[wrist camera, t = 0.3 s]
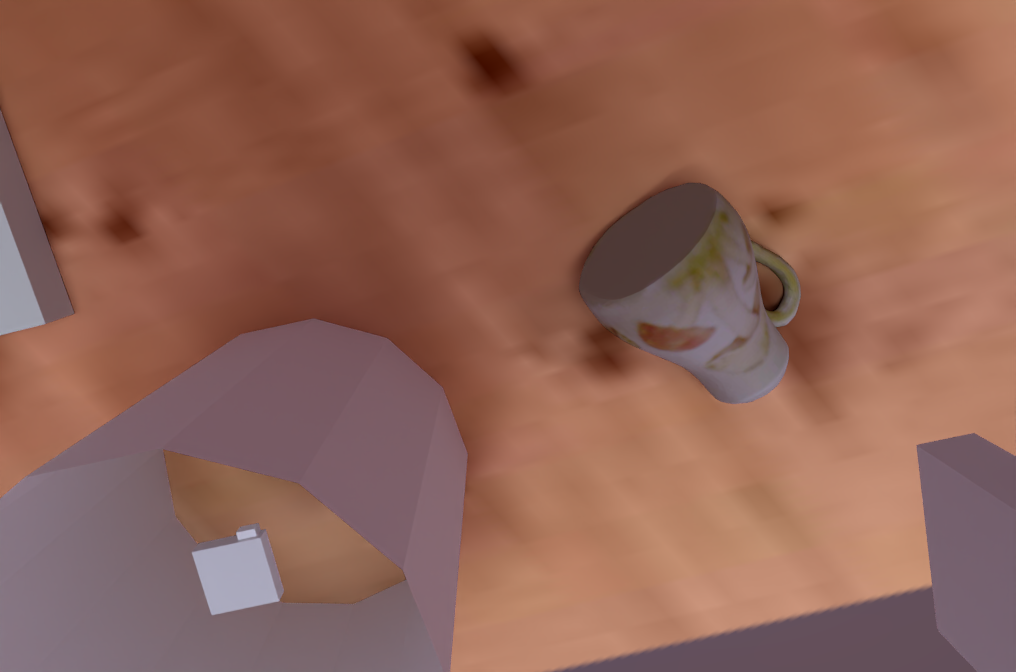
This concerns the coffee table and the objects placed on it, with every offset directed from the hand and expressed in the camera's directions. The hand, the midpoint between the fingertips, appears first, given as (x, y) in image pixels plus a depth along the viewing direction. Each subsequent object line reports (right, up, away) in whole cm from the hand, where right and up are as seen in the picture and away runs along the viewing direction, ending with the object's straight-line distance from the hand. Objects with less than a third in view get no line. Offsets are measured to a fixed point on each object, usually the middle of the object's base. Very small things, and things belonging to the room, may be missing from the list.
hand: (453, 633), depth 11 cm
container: (-8, -2, +29) cm, 30 cm away
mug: (+9, +6, +27) cm, 29 cm away
